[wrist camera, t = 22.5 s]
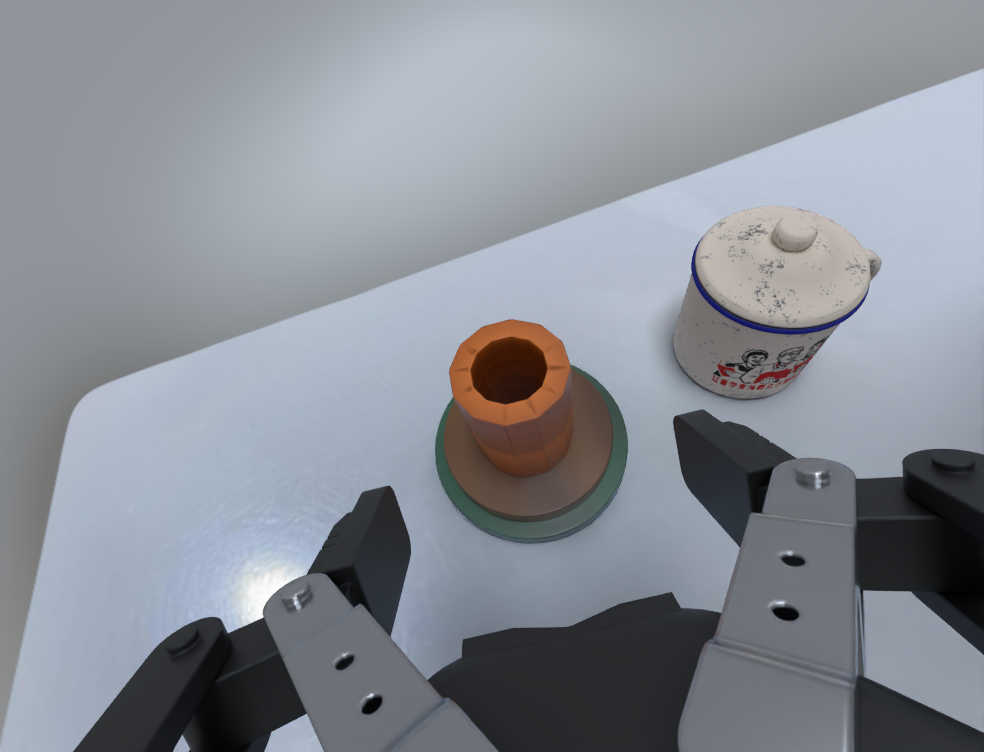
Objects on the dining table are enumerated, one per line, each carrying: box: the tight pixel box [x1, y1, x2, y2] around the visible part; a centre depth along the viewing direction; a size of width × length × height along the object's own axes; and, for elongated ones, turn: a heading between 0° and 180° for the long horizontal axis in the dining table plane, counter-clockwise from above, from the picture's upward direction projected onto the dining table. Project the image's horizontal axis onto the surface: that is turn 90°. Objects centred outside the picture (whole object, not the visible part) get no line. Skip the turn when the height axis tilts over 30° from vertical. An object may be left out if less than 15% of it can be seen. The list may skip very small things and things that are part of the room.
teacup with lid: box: [673, 206, 881, 398], centre depth 29 cm, size 12×9×12 cm
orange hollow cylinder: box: [449, 319, 573, 477], centre depth 27 cm, size 6×6×8 cm
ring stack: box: [435, 365, 628, 543], centre depth 32 cm, size 13×13×3 cm
